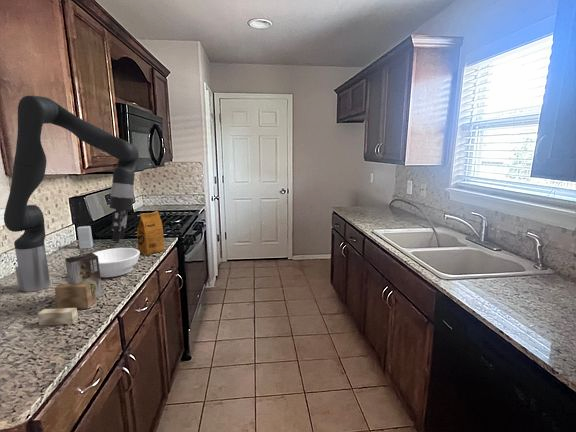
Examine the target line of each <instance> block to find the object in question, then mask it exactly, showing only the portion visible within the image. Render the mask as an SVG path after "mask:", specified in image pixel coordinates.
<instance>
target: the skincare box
mask: <svg viewBox="0 0 576 432" xmlns="http://www.w3.org/2000/svg"><path fill="white" fill-rule="evenodd" d="M91 227H92V226H90V225H84V226H77V228H76V231H77V237H78V239H77V240H78V247H79V249H81V250H82V249H91V248H93V247H94V242H93V241H94V240H93V235H92V228H91Z"/></svg>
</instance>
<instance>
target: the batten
mask: <svg viewBox="0 0 576 432" xmlns="http://www.w3.org/2000/svg"><path fill="white" fill-rule="evenodd" d="M37 318H38V323H39V326H52V325H53V326H54V325H55V326H56V325H57V324H58V325H74V324H75V323H76V322H77V321H78V320H79V315H78V309H77V308H59V309H58V308H44V309H42V310H41V311H39V312H38V313H37ZM76 320H77V321H76ZM75 321H76V322H75Z"/></svg>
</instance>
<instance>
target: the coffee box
mask: <svg viewBox="0 0 576 432" xmlns="http://www.w3.org/2000/svg"><path fill="white" fill-rule="evenodd" d="M93 253H94V252H89V253H84V254H79V255H74V256H70V257H66V258H64V260H65V267H66V273H67V279H68V280H67V283H68V284H84V283H90V287H91V294H95V298H96V299H97V298H100V297H104V293H103V283H102V277H101V276H100V269H99V261H98V256H97V255H95V254H93Z"/></svg>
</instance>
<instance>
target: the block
mask: <svg viewBox="0 0 576 432" xmlns="http://www.w3.org/2000/svg"><path fill="white" fill-rule="evenodd" d="M54 291H55V293H54V294H55V300H56V306H57V309H59V308H77V310H79V309H81V310H82V309H90V307H92V306H93V304H95V303H96V302H97V298H95V294H91V287H90V283H84V284H69V283H63V284H57V286H55V287H54Z"/></svg>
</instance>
